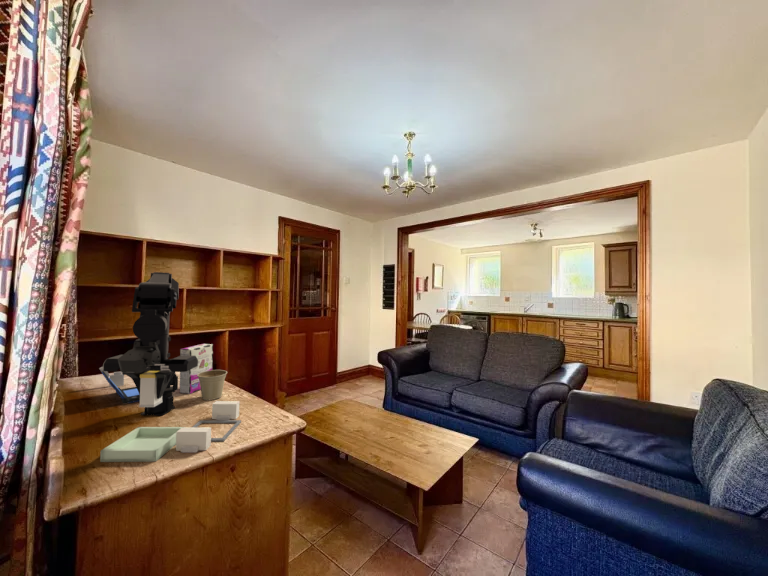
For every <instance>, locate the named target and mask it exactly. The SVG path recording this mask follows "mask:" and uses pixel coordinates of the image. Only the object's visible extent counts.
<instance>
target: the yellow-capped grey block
mask: <svg viewBox="0 0 768 576" xmlns="http://www.w3.org/2000/svg"><path fill="white" fill-rule="evenodd" d="M156 372H159V371H148V372H145V373H143V374H140V378H141V380H140V401H139V405H138V408H145V407H155V406H157V405H158V404H160V403H162V397H161V398H159V399H157V377H156V375H155V373H156Z"/></svg>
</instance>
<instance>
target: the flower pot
mask: <svg viewBox="0 0 768 576" xmlns="http://www.w3.org/2000/svg"><path fill="white" fill-rule="evenodd" d="M227 374H228V371H227V370H224V369H212V370H210V371H204V372H201V373H199V374H197V376H198V378H199V381H200V386H201V390H200V393H201V399H202V400H203V401H213V400H218V399H220V398H221V397H222V396H223V391H224V386H225V379H226V377H227Z"/></svg>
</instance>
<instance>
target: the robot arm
mask: <svg viewBox="0 0 768 576" xmlns="http://www.w3.org/2000/svg"><path fill="white" fill-rule="evenodd" d="M179 286H180V284H179V282H178V281H177V280H175V278H173V274H172V273H170V272H163V271H162V272H161V271H160V272H159V271H153V272H150V278H149V279H148V280H146V281H145V282H144V281H143V282H140V283H139V284H138V286H137V287H135V289H134V293H133V299H132V305H131V306H132V308H131V312H132V313H139V314H140V315H139V317H138V318H137V319H136V320H135V321H134V322H133V325H132V333H134V336H135V337H136V338H137V339H135V340H134V342H133V347H132V349H129V350H127V351H126V352H125V353H124V354H119V355H115V356H112V357H108V358H106V359H105V360H104V362H103V364H102V367H103V371H107V372H118V371H119V370H120V372H122V373H121V374H123V375H124V376H127V377H129V378H131V380H132V382H133V383H134V385H135V387H137V390H138V392H139V394H140V380H141V378H140V374H143V373H145V372H148V371H159V372H156V373H155V375H156V377H157V399H159V398H161V397H162V403H160V404H158V405H157V406H155V407H144V411H143V412H141V413H140V416H164V415H166V414H168V413H169V412H170V411H172V410H173V409H175V408H176V407H175V405H174V400H175V399H174V395H173V393H175V391H178V388H179V376H178V375H177V374H176V373H178V372H179V373H180V372H186V371H189V370H191V369H193V368H195V367H197V366H198V359H197V357H196V356H188V355H181V356H180V355H178V356H177V357H174V358H170V357H171V353H170V352H169V342H171V341H172V337H171V336H170V333H169V332H170V316H171V313H172V312H173V310H174V309H177V300H179V295H180V294H179V293H180V292H179V291H180V290H179V289H180V287H179Z"/></svg>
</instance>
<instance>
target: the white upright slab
mask: <svg viewBox="0 0 768 576" xmlns="http://www.w3.org/2000/svg"><path fill="white" fill-rule="evenodd" d="M98 369H99V370H100V372H101V373H102V371H103V366H101V367H99V368H98ZM104 373H105V374H106V375H107V376H108V377H109V378H110V379H111V381H112V382H113V383H114V384H115V385H116V386H117V387H121V386H125V384H124V383H125V375H123V374H122V372H121V371H113V374H110V373H109V371H104ZM108 385H109V388H113V387H112V386H111V385H110V384H109V383H108Z"/></svg>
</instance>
